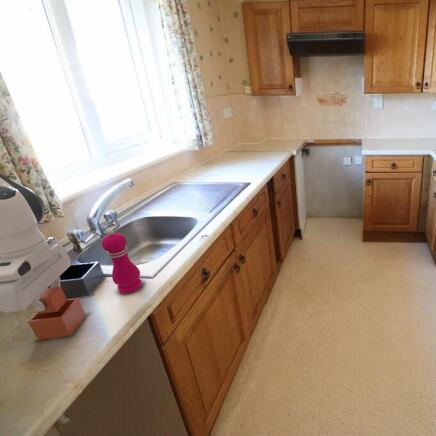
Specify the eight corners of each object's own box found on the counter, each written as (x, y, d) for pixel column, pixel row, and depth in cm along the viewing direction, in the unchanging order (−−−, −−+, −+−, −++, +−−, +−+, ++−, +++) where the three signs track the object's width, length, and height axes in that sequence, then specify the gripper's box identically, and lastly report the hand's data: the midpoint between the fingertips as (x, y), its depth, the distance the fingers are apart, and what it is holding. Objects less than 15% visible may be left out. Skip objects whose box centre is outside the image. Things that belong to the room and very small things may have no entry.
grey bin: (53, 299, 95) (45, 283, 93) (72, 280, 104) (64, 265, 101) (89, 295, 96) (82, 279, 94) (105, 277, 105) (98, 261, 102)
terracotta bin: (37, 340, 81) (27, 321, 78) (56, 319, 87) (47, 301, 85) (70, 336, 81) (61, 317, 79) (86, 315, 88) (78, 297, 86)
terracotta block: (38, 314, 79) (30, 299, 78) (49, 302, 83) (42, 288, 81) (57, 311, 80) (50, 297, 78) (67, 300, 84) (61, 286, 82)
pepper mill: (136, 277, 104) (117, 222, 95) (148, 285, 100) (129, 227, 91) (113, 289, 98) (89, 231, 90) (124, 297, 95) (101, 238, 86)
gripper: (40, 235, 84) (61, 279, 90) (-26, 281, 66) (6, 332, 71) (66, 232, 85) (85, 276, 91) (8, 278, 66) (37, 329, 72)
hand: (50, 301), depth 81 cm, fingers closed on terracotta block, 4 cm apart
